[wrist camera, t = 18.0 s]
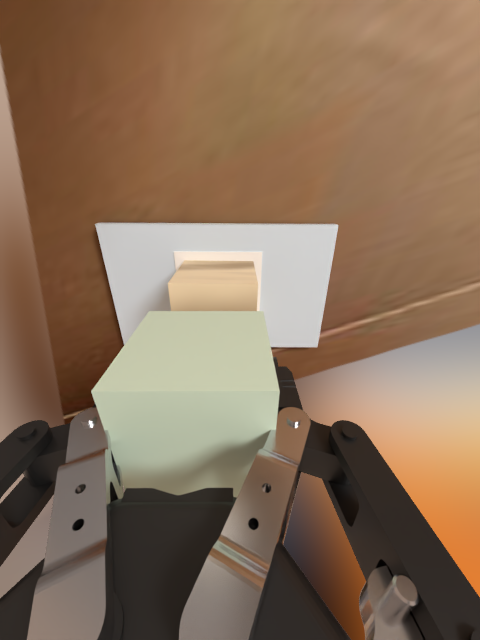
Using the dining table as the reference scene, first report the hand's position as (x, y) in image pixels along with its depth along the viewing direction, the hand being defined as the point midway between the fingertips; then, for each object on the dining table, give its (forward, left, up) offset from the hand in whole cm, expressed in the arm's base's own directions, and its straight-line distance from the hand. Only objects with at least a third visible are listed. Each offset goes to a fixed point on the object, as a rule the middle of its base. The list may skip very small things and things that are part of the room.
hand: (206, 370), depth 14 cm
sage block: (0, 0, -1) cm, 1 cm away
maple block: (0, 0, -11) cm, 11 cm away
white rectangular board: (0, 0, -12) cm, 12 cm away
